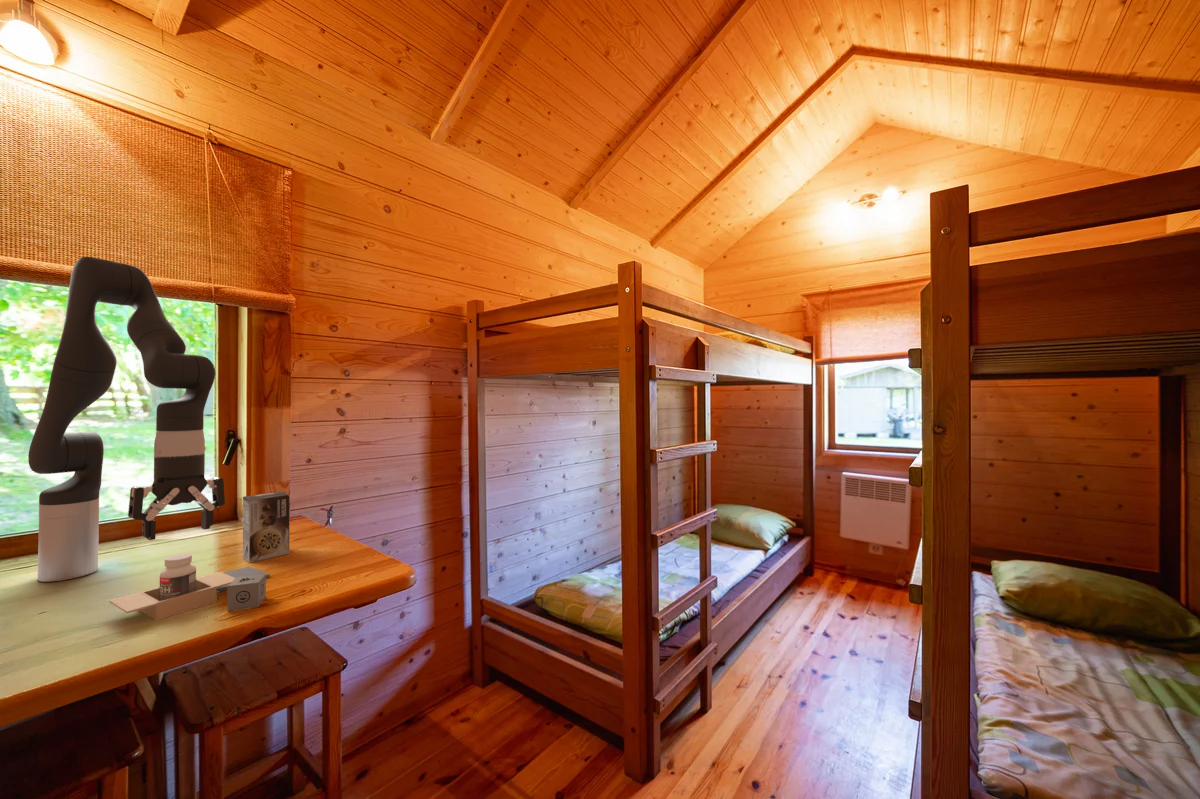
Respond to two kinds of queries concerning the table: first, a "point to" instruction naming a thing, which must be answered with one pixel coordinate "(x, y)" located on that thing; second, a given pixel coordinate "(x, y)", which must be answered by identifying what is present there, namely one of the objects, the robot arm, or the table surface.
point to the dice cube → (246, 592)
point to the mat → (242, 572)
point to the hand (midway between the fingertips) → (179, 533)
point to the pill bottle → (177, 577)
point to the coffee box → (265, 526)
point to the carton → (174, 598)
